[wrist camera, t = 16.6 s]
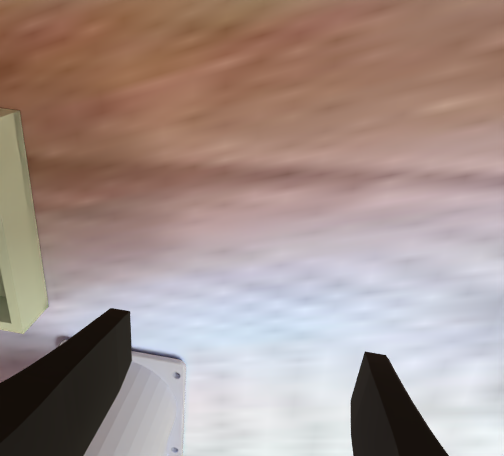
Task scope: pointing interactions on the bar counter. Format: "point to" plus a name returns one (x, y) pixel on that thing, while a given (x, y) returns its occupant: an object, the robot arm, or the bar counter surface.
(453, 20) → the bar counter surface
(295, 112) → the bar counter surface
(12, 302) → the tray
